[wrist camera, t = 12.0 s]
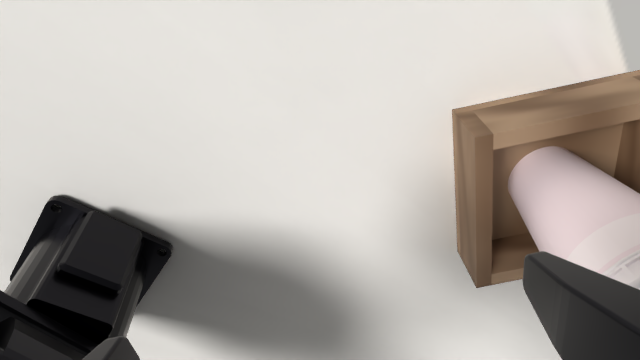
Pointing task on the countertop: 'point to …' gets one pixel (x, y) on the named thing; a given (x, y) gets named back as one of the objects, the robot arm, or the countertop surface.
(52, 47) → the countertop surface
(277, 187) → the countertop surface
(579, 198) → the smoothie
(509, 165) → the socket block
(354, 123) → the countertop surface
